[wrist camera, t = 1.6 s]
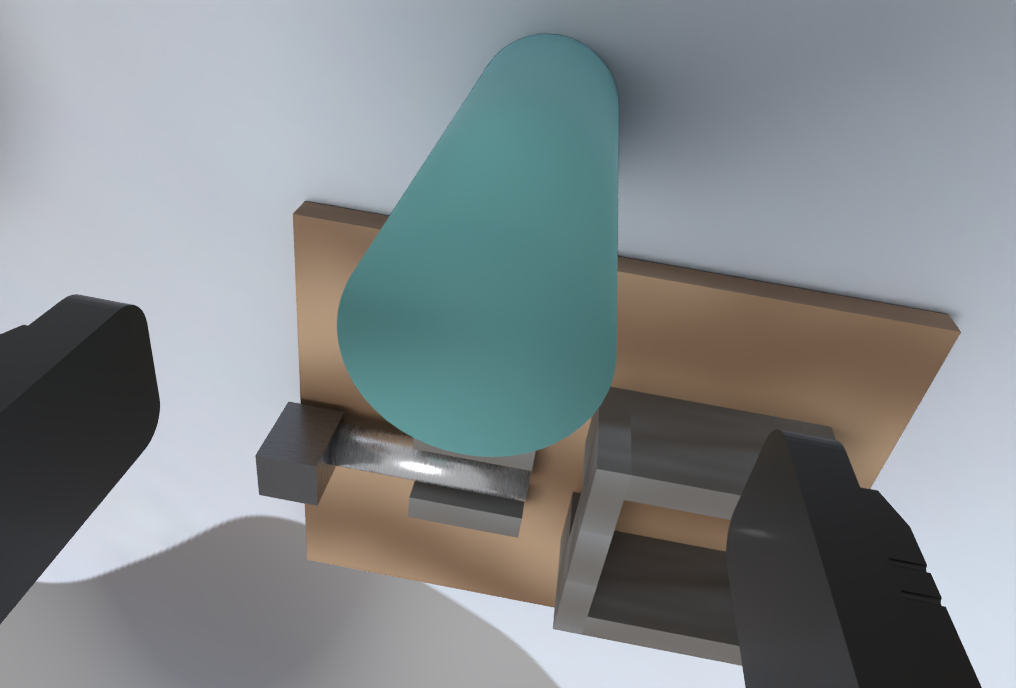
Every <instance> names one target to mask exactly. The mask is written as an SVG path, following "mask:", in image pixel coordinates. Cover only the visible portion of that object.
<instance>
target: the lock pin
mask: <svg viewBox="0 0 1016 688" xmlns="http://www.w3.org/2000/svg"><path fill="white" fill-rule="evenodd" d="M413 440H414V438H413V437H411V436H410V435H404V434H399V433H394V432H388V431H383V430H378V429H372V428H367V427H361V426H356V425H351V424H345V423H344V412H342V411H336V410H331V409H326V408H320V407H315V406H310V405H304V404H299V403H293V402H288V403H287V405H286V407H285V408H284V410H283V412H282V413H281V415H280V416H279V418H278V420H277V421H276V423H275V425H274V426H273V428H272V429H271V431H270V433H269V434H268V436H267V438H266V439H265V441H264V443H263V444H262V446H261V447H260V449H259V451H258V452H257V454H256V465H257V476H258V487H259V495H263V496H268V497H274V498H279V499H284V500H289V501H295V502H300V503H305V504H310V505H316V506H318V504H319V502H320V500H321V497H322V495H323V493H324V491H325V489H326V487H327V485H328V483H329V480H330V478H331V476H332V474H333V472H334V470H335V468H336V466H338V467H344V468H349V469H354V470H360V471H365V472H370V473H376V474H381V475H386V476H391V477H397V478H402V479H407V480H413V481H418V482H423V483H429V484H434V485H439V486H445V487H450V488H455V489H460V490H466V491H471V492H476V493H482V494H487V495H492V496H498V497H503V498H508V499H513V500H519V501H524V502H525V501H526V497H527V492H528V486H529V481H530V475H531V471H528V470H523V469H518V468H512V467H507V466H502V465H496V464H491V463H486V462H480V461H475V460H470V459H464V458H459V457H453V456H448V455H443V454H437V453H432V452H427V451H421V450H416V449H413Z"/></svg>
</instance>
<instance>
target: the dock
mask: <svg viewBox="0 0 1016 688" xmlns="http://www.w3.org/2000/svg"><path fill="white" fill-rule="evenodd" d="M388 217H389V216H386V215H381V214H375V213H369V212H364V211H358V210H352V209H347V208H341V207H335V206H330V205H324V204H318V203H313V202H307V201H305V202H304V203H303V204H302V205H301V206H300V207H299V208H298V209H297V210H296V211H295V212H294V213H293V227H294V251H295V275H296V299H297V324H298V348H299V372H300V396H301V404H304V405H310V406H315V407H320V408H326V409H331V410H336V411H342V412H344V423H345V424H351V425H356V426H361V427H367V428H372V429H378V430H383V431H388V432H394V433H399V434H404V435H408V434H406V433H405V432H403V431H401V430H399V429H398V428H397V427H395V426H394V425H392V424H391V423H390V422H388V421H387V420H386V419H385V418H383V417H382V416H381V415H380V414H379V413H378V412H377V411H376V410H375V409H374V408H373V407H372V406H371V405H370V404H369V403H368V402H367V401H366V400H365V398H364V397H363V396H362V394H361V393H360V392H359V390H358V389H357V387H356V386H355V385H354V383H353V381H352V379H351V377H350V375H349V374H348V372H347V370H346V367H345V364H344V362H343V359H342V356H341V352H340V348H339V344H338V336H337V314H338V308H339V303H340V299H341V295H342V293H343V290H344V288H345V286H346V283H347V281H348V279H349V278H350V276H351V275H352V273H353V271H354V270H355V268H356V267H357V265H358V264H359V262H360V260H361V259H362V257H363V256H364V254H365V253H366V251H367V250H368V248H369V247H370V245H371V244H372V242H373V241H374V239H375V237H376V236H377V234H378V233H379V231H380V230H381V228H382V227H383V225H384V224H385V222H386V221H387V219H388ZM960 333H961V331H960V330H959V329H958V327H957V326H956V325H955V323H954V322H953V320H952V319H951V318H950V316H949V315H948V314H943V313H937V312H932V311H926V310H920V309H915V308H909V307H903V306H898V305H892V304H886V303H880V302H875V301H869V300H863V299H858V298H852V297H846V296H841V295H835V294H829V293H824V292H818V291H812V290H807V289H801V288H795V287H790V286H784V285H778V284H773V283H767V282H761V281H756V280H750V279H744V278H739V277H733V276H727V275H721V274H716V273H710V272H704V271H699V270H693V269H687V268H682V267H676V266H670V265H665V264H659V263H653V262H648V261H642V260H636V259H631V258H625V257H619V256H618V264H617V361H616V367H615V372H614V377H613V380H612V383H611V386H610V388H609V391H608V393H607V395H606V397H605V398H604V400H603V402H602V404H601V405H600V407H599V408H598V409H597V411H596V412H595V413H594V414H593V416H592V417H591V418H590V419H589V420H588V421H587V422H586V423H585V424H584V425H583V426H582V427H580V428H579V429H578V430H576V431H575V432H574V433H572V434H571V435H570V436H568V437H566V438H564V439H562V440H561V441H559V442H557V443H555V444H553V445H550V446H548V447H545V448H543V449H540V450H536V451H533V452H529V453H525V454H519V455H514V456H503V457H480V456H471V455H464V454H459V453H454V452H450V451H446V450H443V449H440V448H437V447H434V446H431V445H428V444H426V443H424V442H422V441H420V440H417V439H415V438H414V440H413V449H416V450H421V451H427V452H432V453H437V454H443V455H448V456H453V457H459V458H464V459H470V460H475V461H480V462H486V463H491V464H496V465H502V466H507V467H512V468H518V469H523V470H528V471H531V475H530V481H529V486H528V492H527V497H526V501H525V502H524V501H519V500H513V499H508V498H503V497H498V496H492V495H487V494H482V493H476V492H471V491H466V490H460V489H455V488H450V487H445V486H439V485H434V484H429V483H423V482H418V481H413V480H407V479H402V478H397V477H391V476H386V475H381V474H376V473H370V472H365V471H360V470H354V469H349V468H344V467H338V466H336V468H335V470H334V472H333V474H332V476H331V478H330V480H329V483H328V485H327V487H326V489H325V491H324V493H323V495H322V497H321V500H320V502H319V504H318V506H316V505H310V504H305V517H306V540H307V559H308V560H312V561H317V562H322V563H327V564H332V565H338V566H343V567H348V568H354V569H358V570H364V571H368V572H374V573H379V574H384V575H390V576H394V577H400V578H405V579H410V580H415V581H420V582H425V583H431V584H436V585H441V586H446V587H451V588H456V589H462V590H467V591H472V592H477V593H482V594H488V595H493V596H498V597H503V598H508V599H513V600H519V601H524V602H529V603H534V604H539V605H544V606H550V607H555V611H554V622H553V629H556V630H561V631H566V632H571V633H577V634H582V635H587V636H592V637H597V638H602V639H607V640H613V641H618V642H623V643H628V644H633V645H638V646H643V647H649V648H654V649H659V650H664V651H669V652H674V653H680V654H685V655H690V656H695V657H700V658H705V659H710V660H716V661H721V662H726V663H731V664H736V665H741V666H742V660H741V654H740V647H739V641H738V634H737V628H736V622H735V615H734V609H733V602H732V596H731V589H730V583H729V577H728V570H727V563H726V543H727V535H728V529H729V525H730V521H731V518H732V515H733V512H734V510H735V508H736V505H737V503H738V501H739V499H740V496H741V494H742V492H743V490H744V487H745V485H746V483H747V481H748V478H749V476H750V474H751V472H752V469H753V467H754V465H755V463H756V460H757V458H758V456H759V454H760V451H761V449H762V447H763V445H764V442H765V440H766V439H767V437H768V435H769V434H770V433H771V432H772V431H773V430H776V429H779V430H784V431H790V432H795V433H800V434H806V435H811V436H816V437H821V438H827V439H832V440H837V441H839V442H840V443H841V444H842V445H843V446H844V448H845V450H846V452H847V455H848V458H849V460H850V463H851V465H852V468H853V470H854V473H855V475H856V478H857V480H858V483H859V486H860V487H861V488H867V489H870V488H871V486H872V485H873V483H874V481H875V479H876V478H877V476H878V474H879V473H880V471H881V469H882V467H883V466H884V464H885V462H886V460H887V459H888V457H889V455H890V454H891V452H892V450H893V448H894V447H895V445H896V443H897V442H898V440H899V438H900V436H901V435H902V433H903V431H904V429H905V428H906V426H907V424H908V423H909V421H910V419H911V417H912V416H913V414H914V412H915V411H916V409H917V407H918V405H919V404H920V402H921V400H922V398H923V397H924V395H925V393H926V392H927V390H928V388H929V386H930V385H931V383H932V381H933V379H934V378H935V376H936V374H937V373H938V371H939V369H940V367H941V366H942V364H943V362H944V361H945V359H946V357H947V355H948V354H949V352H950V350H951V348H952V347H953V345H954V343H955V342H956V340H957V338H958V336H959V335H960Z"/></svg>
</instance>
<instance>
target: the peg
mask: <svg viewBox="0 0 1016 688" xmlns="http://www.w3.org/2000/svg"><path fill="white" fill-rule="evenodd" d="M618 143H619V101H618V93H617V89H616V85H615V82H614V80H613V77H612V75H611V73H610V71H609V70H608V68H607V66H606V65H605V64H604V62H603V61H602V60H601V58H600V57H599V56H598V55H597V54H596V53H595V52H594V51H592V50H591V49H590V48H588V47H587V46H586V45H584V44H582V43H580V42H579V41H577V40H574V39H572V38H569V37H566V36H561V35H556V34H537V35H532V36H527V37H524V38H522V39H519V40H517V41H515V42H513V43H511V44H509V45H508V46H506V47H505V48H503V49H502V50H501V51H500V52H499V53H498V54H497V55H496V56H495V57H494V58H493V59H492V60H491V62H490V63H489V64H488V66H487V67H486V69H485V70H484V72H483V73H482V75H481V76H480V78H479V79H478V81H477V83H476V84H475V86H474V87H473V89H472V90H471V92H470V93H469V95H468V96H467V98H466V99H465V101H464V102H463V104H462V106H461V107H460V109H459V110H458V112H457V113H456V115H455V116H454V118H453V119H452V121H451V122H450V124H449V125H448V127H447V129H446V130H445V132H444V133H443V135H442V136H441V138H440V139H439V141H438V142H437V144H436V145H435V147H434V148H433V150H432V152H431V153H430V155H429V156H428V158H427V159H426V161H425V162H424V164H423V165H422V167H421V168H420V170H419V171H418V173H417V175H416V176H415V178H414V179H413V181H412V182H411V184H410V185H409V187H408V188H407V190H406V191H405V193H404V194H403V196H402V198H401V199H400V201H399V202H398V204H397V205H396V207H395V208H394V210H393V211H392V213H391V214H390V216H389V217H388V219H387V221H386V222H385V224H384V225H383V227H382V228H381V230H380V231H379V233H378V234H377V236H376V237H375V239H374V241H373V242H372V244H371V245H370V247H369V248H368V250H367V251H366V253H365V254H364V256H363V257H362V259H361V260H360V262H359V264H358V265H357V267H356V268H355V270H354V271H353V273H352V275H351V276H350V278H349V279H348V281H347V283H346V286H345V288H344V290H343V293H342V295H341V299H340V303H339V308H338V314H337V336H338V344H339V348H340V352H341V356H342V359H343V362H344V364H345V367H346V370H347V372H348V374H349V375H350V377H351V379H352V381H353V383H354V385H355V386H356V387H357V389H358V390H359V392H360V393H361V394H362V396H363V397H364V398H365V400H366V401H367V402H368V403H369V404H370V405H371V406H372V407H373V408H374V409H375V410H376V411H377V412H378V413H379V414H380V415H381V416H382V417H383V418H385V419H386V420H387V421H388V422H390V423H391V424H392V425H394V426H395V427H397V428H398V429H399V430H401V431H403V432H405V433H406V434H408V435H410V436H411V437H413V438H415V439H417V440H420V441H422V442H424V443H426V444H428V445H431V446H434V447H437V448H440V449H443V450H446V451H450V452H454V453H459V454H464V455H471V456H480V457H503V456H514V455H519V454H525V453H529V452H533V451H536V450H540V449H543V448H545V447H548V446H550V445H553V444H555V443H557V442H559V441H561V440H562V439H564V438H566V437H568V436H570V435H571V434H572V433H574V432H575V431H576V430H578V429H579V428H580V427H582V426H583V425H584V424H585V423H586V422H587V421H588V420H589V419H590V418H591V417H592V416H593V414H594V413H595V412H596V411H597V409H598V408H599V407H600V405H601V404H602V402H603V400H604V398H605V397H606V395H607V393H608V391H609V388H610V386H611V383H612V380H613V377H614V372H615V367H616V361H617V264H618Z"/></svg>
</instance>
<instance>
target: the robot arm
mask: <svg viewBox="0 0 1016 688" xmlns="http://www.w3.org/2000/svg"><path fill="white" fill-rule="evenodd" d="M159 412H160V399H159V393H158V387H157V381H156V374H155V368H154V362H153V356H152V350H151V344H150V338H149V331H148V325H147V321H146V317H145V315H144V313H143V311H142V310H141V309H140V308H139V307H137V306H135V305H130V304H125V303H120V302H115V301H109V300H104V299H99V298H94V297H88V296H83V295H77V294H76V295H71V296H68V297H66V298H64V299H63V300H61V301H60V302H59V303H57V304H56V305H55V306H54V307H52V308H51V309H50V310H48V311H47V312H46V313H44V314H43V315H42V316H40V317H39V318H38V319H36V320H35V321H34V322H32V323H31V324H30V325H29V326H27V325H22V326H19V327H17V328H15V329H12V330H10V331H7V332H5V333H3V334H0V624H1V623H2V621H3V620H4V619H5V618H6V617H7V615H8V614H9V613H10V612H11V611H12V609H13V608H14V607H15V606H16V605H17V603H18V602H19V601H20V600H21V598H22V597H23V596H24V595H25V593H26V592H27V591H28V590H29V589H30V587H31V586H32V585H33V584H34V583H35V582H36V580H37V579H38V578H39V577H40V576H41V574H42V573H43V572H44V571H45V569H46V568H47V567H48V566H49V565H50V563H51V562H52V561H53V560H54V559H55V557H56V556H57V555H58V554H59V553H60V551H61V550H62V549H63V548H64V547H65V545H66V544H67V543H68V542H69V540H70V539H71V538H72V537H73V536H74V534H75V533H76V532H77V531H78V530H79V528H80V527H81V526H82V525H83V524H84V522H85V521H86V520H87V519H88V518H89V516H90V515H91V514H92V513H93V511H94V510H95V509H96V508H97V507H98V505H99V504H100V503H101V502H102V501H103V499H104V498H105V497H106V496H107V495H108V493H109V492H110V491H111V490H112V489H113V487H114V486H115V485H116V484H117V482H118V481H119V480H120V479H121V478H122V476H123V475H124V474H125V473H126V472H127V470H128V469H129V468H130V467H131V466H132V464H133V463H134V462H135V461H136V460H137V458H138V457H139V456H140V455H141V454H142V452H143V451H144V450H145V449H146V447H147V446H148V444H149V443H150V441H151V439H152V437H153V435H154V432H155V430H156V427H157V423H158V419H159ZM726 563H727V570H728V577H729V583H730V589H731V596H732V602H733V609H734V615H735V622H736V628H737V634H738V641H739V647H740V654H741V660H742V667H743V673H744V679H745V686H746V688H982V687H981V685H980V683H979V681H978V678H977V676H976V674H975V672H974V669H973V667H972V665H971V663H970V660H969V658H968V656H967V654H966V651H965V649H964V647H963V645H962V642H961V640H960V638H959V636H958V633H957V631H956V629H955V627H954V625H953V622H952V620H951V618H950V616H949V613H948V611H947V609H946V607H944V606H941V599H942V598H941V595H940V593H939V591H938V589H937V586H936V584H935V582H934V580H933V577H932V575H931V573H927V572H926V567H927V564H926V562H925V559H924V557H923V555H922V553H921V551H920V548H919V546H918V544H917V542H916V539H915V537H914V535H913V533H912V530H911V528H910V526H909V525H908V524H907V523H906V522H905V521H904V519H903V518H902V517H901V516H900V515H899V514H898V513H897V512H896V510H895V509H894V508H893V507H892V506H891V505H890V504H889V503H888V502H887V500H886V499H885V498H884V497H883V496H882V495H881V494H880V493H879V491H877V490H872V489H867V488H861V487H860V486H859V483H858V480H857V478H856V475H855V473H854V470H853V468H852V465H851V463H850V460H849V458H848V455H847V452H846V450H845V448H844V446H843V445H842V444H841V443H840V442H839V441H837V440H832V439H827V438H821V437H816V436H811V435H806V434H800V433H795V432H790V431H784V430H779V429H776V430H773V431H772V432H771V433H770V434H769V435H768V437H767V439H766V440H765V442H764V445H763V447H762V449H761V451H760V454H759V456H758V458H757V460H756V463H755V465H754V467H753V469H752V472H751V474H750V476H749V478H748V481H747V483H746V485H745V487H744V490H743V492H742V494H741V496H740V499H739V501H738V503H737V505H736V508H735V510H734V512H733V515H732V518H731V521H730V525H729V529H728V535H727V543H726Z"/></svg>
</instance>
